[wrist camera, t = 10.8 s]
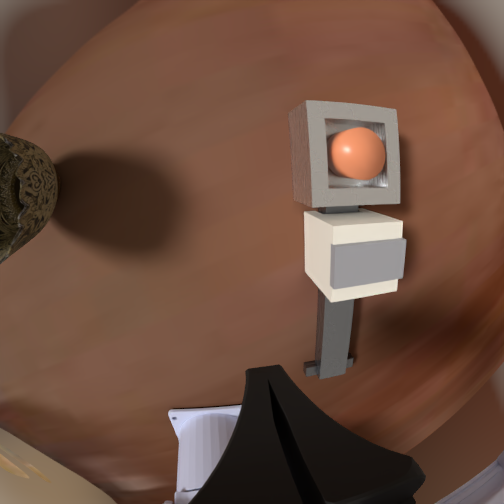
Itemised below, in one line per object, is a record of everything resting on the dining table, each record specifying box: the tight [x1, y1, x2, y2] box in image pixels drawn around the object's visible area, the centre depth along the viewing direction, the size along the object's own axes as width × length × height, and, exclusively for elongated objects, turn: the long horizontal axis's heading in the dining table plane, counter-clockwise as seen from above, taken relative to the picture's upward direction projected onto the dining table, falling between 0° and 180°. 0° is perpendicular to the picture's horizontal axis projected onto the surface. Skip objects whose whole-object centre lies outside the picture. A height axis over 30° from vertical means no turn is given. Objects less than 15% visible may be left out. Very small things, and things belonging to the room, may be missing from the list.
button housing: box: [288, 100, 400, 208], centre depth 17 cm, size 6×6×4 cm
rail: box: [304, 205, 358, 379], centre depth 21 cm, size 14×4×2 cm, turn 4°
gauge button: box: [327, 127, 385, 180], centre depth 15 cm, size 3×3×2 cm
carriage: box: [304, 208, 406, 303], centre depth 18 cm, size 4×5×6 cm
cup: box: [0, 133, 61, 264], centre depth 13 cm, size 8×7×8 cm
